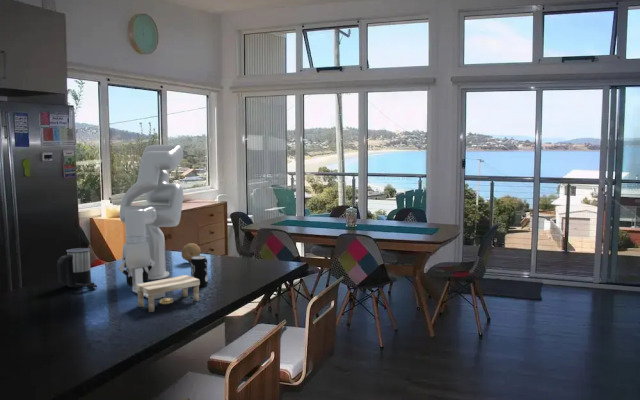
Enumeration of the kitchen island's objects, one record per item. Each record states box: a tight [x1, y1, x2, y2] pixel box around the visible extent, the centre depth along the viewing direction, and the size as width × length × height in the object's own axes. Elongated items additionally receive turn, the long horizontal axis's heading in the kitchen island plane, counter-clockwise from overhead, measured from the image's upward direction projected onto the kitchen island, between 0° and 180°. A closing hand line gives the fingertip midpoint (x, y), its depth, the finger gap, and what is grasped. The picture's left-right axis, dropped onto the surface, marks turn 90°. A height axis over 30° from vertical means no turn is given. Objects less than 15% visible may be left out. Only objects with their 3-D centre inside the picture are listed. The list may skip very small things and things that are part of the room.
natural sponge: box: [181, 242, 202, 264], centre depth 261 cm, size 9×9×10 cm
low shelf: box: [136, 274, 200, 313], centre depth 197 cm, size 10×20×8 cm, turn 135°
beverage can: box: [190, 255, 209, 289], centre depth 221 cm, size 7×7×12 cm
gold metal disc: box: [158, 297, 174, 305], centre depth 199 cm, size 5×5×1 cm
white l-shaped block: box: [131, 268, 166, 300], centre depth 210 cm, size 18×6×9 cm, turn 44°
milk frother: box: [56, 247, 98, 290], centre depth 219 cm, size 14×16×15 cm
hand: (137, 283), depth 215 cm, fingers open, 5 cm apart
